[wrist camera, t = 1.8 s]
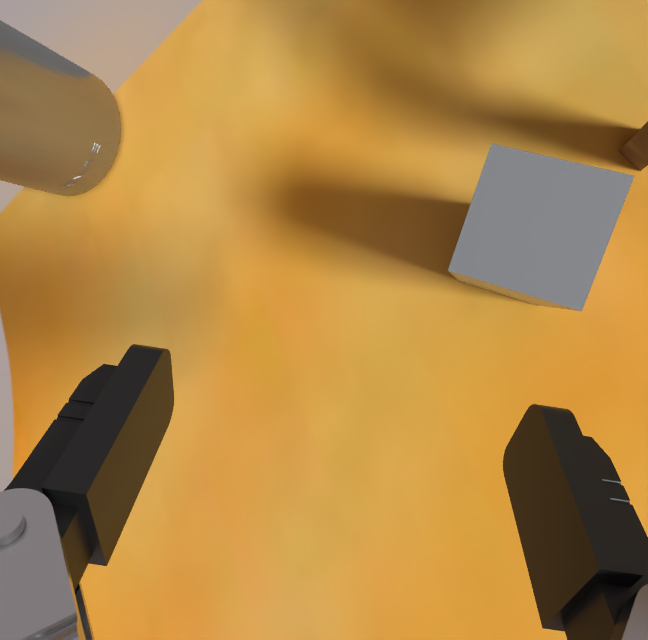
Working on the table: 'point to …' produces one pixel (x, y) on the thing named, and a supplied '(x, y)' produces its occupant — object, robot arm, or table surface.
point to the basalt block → (538, 227)
